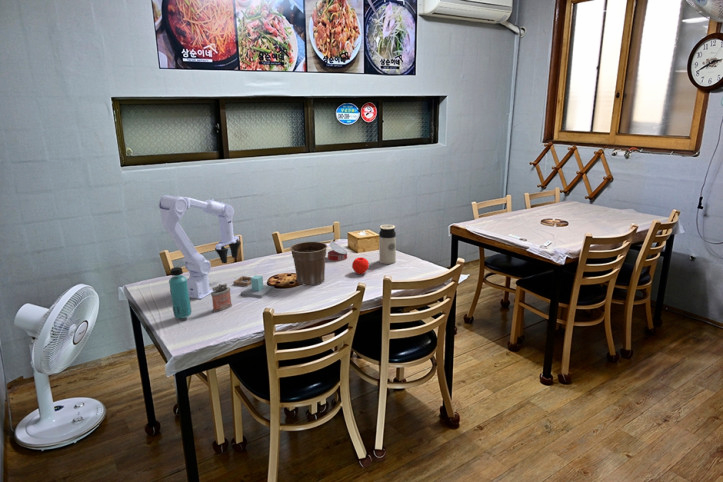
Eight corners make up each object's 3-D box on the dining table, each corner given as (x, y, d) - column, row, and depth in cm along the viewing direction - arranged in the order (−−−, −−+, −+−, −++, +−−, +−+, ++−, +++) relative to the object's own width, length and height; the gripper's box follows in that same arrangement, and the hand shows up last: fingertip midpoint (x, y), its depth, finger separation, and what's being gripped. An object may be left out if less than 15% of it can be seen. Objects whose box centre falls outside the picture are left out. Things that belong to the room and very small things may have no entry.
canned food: (337, 263, 250) (342, 245, 251) (348, 266, 243) (354, 247, 244) (320, 257, 243) (325, 238, 244) (331, 260, 236) (337, 241, 237)
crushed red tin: (228, 304, 192) (226, 280, 189) (233, 306, 190) (231, 282, 187) (211, 310, 186) (208, 287, 183) (216, 313, 184) (213, 289, 181)
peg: (259, 291, 201) (257, 279, 200) (251, 290, 203) (250, 278, 201) (263, 288, 204) (262, 276, 203) (256, 287, 206) (255, 275, 204)
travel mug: (377, 260, 240) (376, 225, 234) (392, 258, 242) (392, 223, 237) (382, 265, 232) (382, 229, 227) (398, 263, 235) (398, 227, 229)
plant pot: (287, 278, 218) (285, 244, 213) (320, 272, 225) (318, 239, 220) (299, 290, 204) (297, 254, 199) (334, 283, 211) (333, 248, 206)
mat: (261, 297, 198) (261, 295, 197) (241, 294, 201) (240, 292, 201) (274, 288, 206) (274, 286, 206) (254, 285, 210) (254, 283, 210)
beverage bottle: (194, 314, 184) (188, 264, 178) (189, 321, 177) (182, 271, 171) (177, 314, 183) (170, 265, 178) (171, 322, 177) (163, 271, 171)
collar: (247, 286, 209) (247, 283, 209) (233, 284, 212) (233, 281, 211) (256, 280, 216) (255, 277, 215) (242, 279, 218) (242, 276, 218)
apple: (372, 274, 220) (371, 259, 218) (355, 277, 218) (355, 261, 215) (365, 269, 227) (365, 254, 225) (349, 271, 225) (349, 256, 223)
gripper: (224, 236, 201) (227, 266, 205) (243, 227, 214) (246, 256, 218) (210, 234, 204) (213, 264, 208) (230, 226, 217) (233, 254, 221)
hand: (229, 260), depth 213 cm, fingers open, 7 cm apart
